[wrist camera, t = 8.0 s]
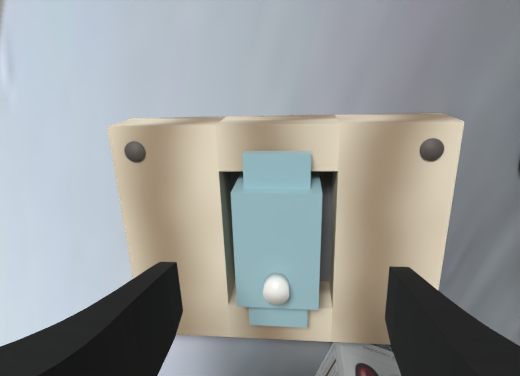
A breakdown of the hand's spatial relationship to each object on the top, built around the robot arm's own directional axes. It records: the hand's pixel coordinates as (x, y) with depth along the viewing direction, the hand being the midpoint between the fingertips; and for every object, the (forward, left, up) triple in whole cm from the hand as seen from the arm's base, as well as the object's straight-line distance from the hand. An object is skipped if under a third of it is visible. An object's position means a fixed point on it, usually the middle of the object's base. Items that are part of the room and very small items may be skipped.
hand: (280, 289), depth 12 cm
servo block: (0, +1, -8) cm, 8 cm away
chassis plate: (0, +1, -8) cm, 9 cm away
